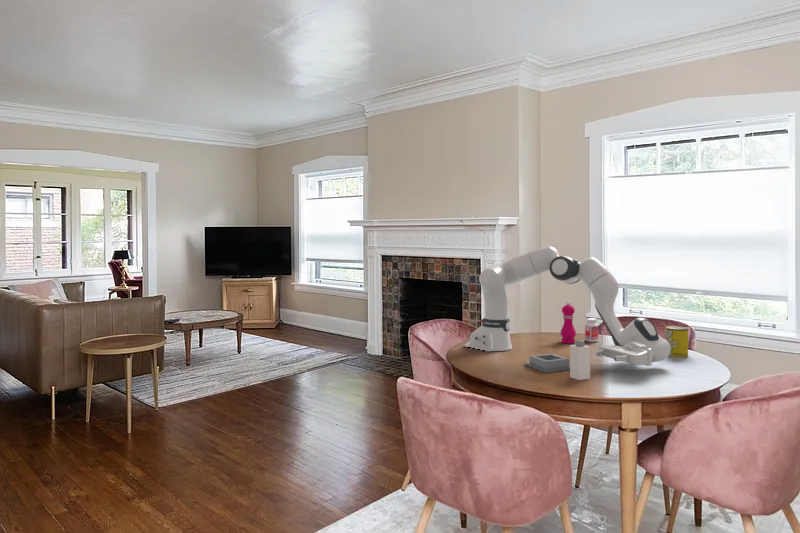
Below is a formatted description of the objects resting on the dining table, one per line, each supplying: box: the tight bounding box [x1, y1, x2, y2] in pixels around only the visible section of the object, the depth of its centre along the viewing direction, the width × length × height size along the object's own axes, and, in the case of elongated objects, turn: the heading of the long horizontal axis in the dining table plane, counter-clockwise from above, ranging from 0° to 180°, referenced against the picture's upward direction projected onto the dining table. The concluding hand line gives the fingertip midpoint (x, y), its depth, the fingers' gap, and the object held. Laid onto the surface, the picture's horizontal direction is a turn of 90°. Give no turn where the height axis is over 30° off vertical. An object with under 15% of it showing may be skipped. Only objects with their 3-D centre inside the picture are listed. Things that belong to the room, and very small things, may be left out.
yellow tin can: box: [664, 325, 689, 358], centre depth 244 cm, size 9×9×12 cm
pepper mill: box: [560, 301, 577, 345], centre depth 274 cm, size 7×7×20 cm
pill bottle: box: [584, 317, 599, 343], centre depth 278 cm, size 6×6×11 cm
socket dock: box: [523, 353, 570, 374], centre depth 225 cm, size 14×14×4 cm
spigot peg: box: [569, 339, 591, 381], centre depth 208 cm, size 5×5×14 cm
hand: (606, 356), depth 212 cm, fingers open, 8 cm apart
